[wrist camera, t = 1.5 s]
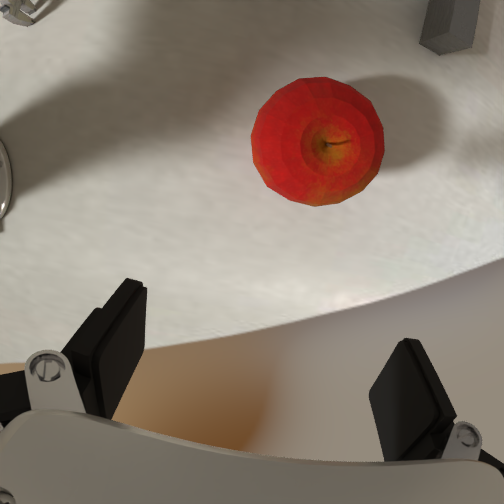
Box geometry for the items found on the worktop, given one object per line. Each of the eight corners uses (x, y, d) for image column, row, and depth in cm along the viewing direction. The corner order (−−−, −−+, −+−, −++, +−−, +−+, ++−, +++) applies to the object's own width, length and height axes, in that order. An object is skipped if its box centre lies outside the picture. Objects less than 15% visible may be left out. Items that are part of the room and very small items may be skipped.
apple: (261, 189, 30) (259, 235, 19) (247, 93, 26) (235, 76, 15) (359, 179, 29) (411, 218, 18) (349, 84, 25) (402, 67, 14)
